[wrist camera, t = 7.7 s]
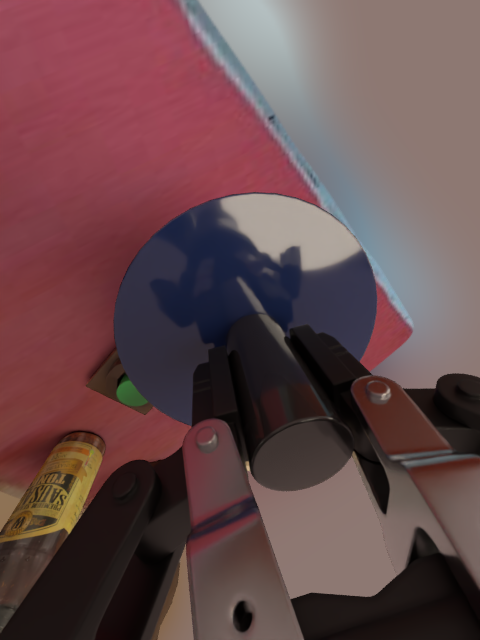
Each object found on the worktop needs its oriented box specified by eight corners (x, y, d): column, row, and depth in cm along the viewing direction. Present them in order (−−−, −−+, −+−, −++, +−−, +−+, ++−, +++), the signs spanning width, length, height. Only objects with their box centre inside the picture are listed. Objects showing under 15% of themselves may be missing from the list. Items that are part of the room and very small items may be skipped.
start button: (114, 385, 27) (109, 396, 25) (133, 364, 26) (129, 374, 25) (142, 400, 28) (139, 411, 27) (161, 380, 28) (159, 390, 26)
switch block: (90, 377, 30) (78, 397, 26) (139, 320, 27) (131, 334, 24) (147, 405, 33) (142, 426, 30) (195, 356, 31) (194, 373, 27)
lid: (66, 347, 11) (-100, 528, 5) (248, 111, 9) (389, -141, 2) (251, 443, 16) (285, 596, 10) (403, 314, 14) (583, 411, 7)
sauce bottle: (98, 424, 33) (-21, 682, 15) (113, 454, 36) (27, 702, 18) (47, 434, 32) (-139, 714, 15) (67, 463, 35) (-70, 729, 17)
